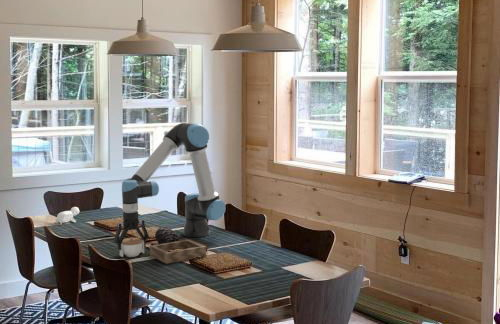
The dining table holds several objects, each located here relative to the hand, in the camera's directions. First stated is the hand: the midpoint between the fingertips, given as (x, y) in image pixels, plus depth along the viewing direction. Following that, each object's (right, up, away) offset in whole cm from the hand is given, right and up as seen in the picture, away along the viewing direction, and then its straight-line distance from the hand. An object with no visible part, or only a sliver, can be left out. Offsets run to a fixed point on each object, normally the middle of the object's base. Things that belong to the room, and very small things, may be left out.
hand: (132, 254), depth 366 cm
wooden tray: (+23, 0, -3) cm, 23 cm away
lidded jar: (0, -1, 0) cm, 1 cm away
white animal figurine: (-52, +9, +79) cm, 95 cm away
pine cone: (+17, +2, +17) cm, 24 cm away
